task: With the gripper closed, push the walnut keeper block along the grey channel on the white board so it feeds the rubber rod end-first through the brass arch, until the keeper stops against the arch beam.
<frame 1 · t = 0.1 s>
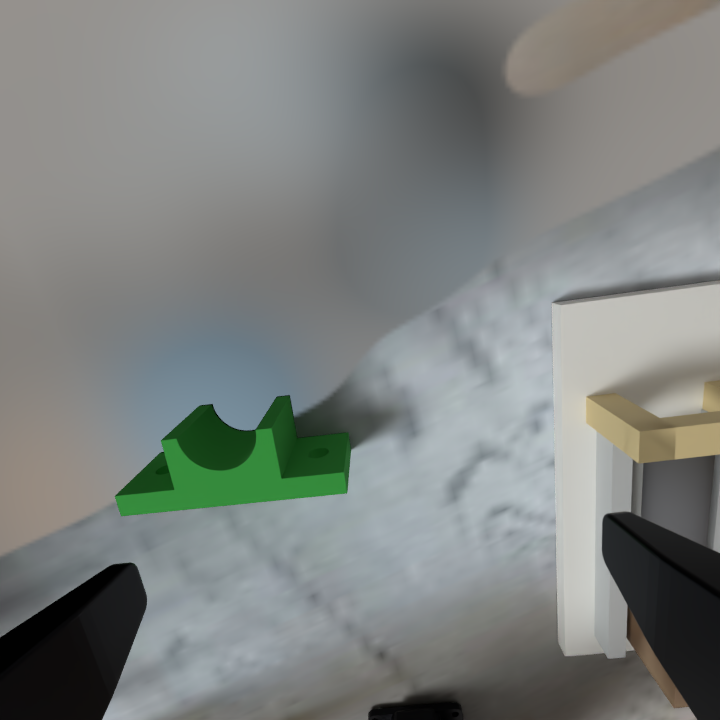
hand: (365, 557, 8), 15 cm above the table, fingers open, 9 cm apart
rod: (654, 488, 22), point 1 cm above the table, touching channel board
pipe clamp: (254, 430, 23), on the table
keeper: (678, 626, 22), point 3 cm above the table, slide at 0.0 cm
channel board: (642, 482, 23), on the table
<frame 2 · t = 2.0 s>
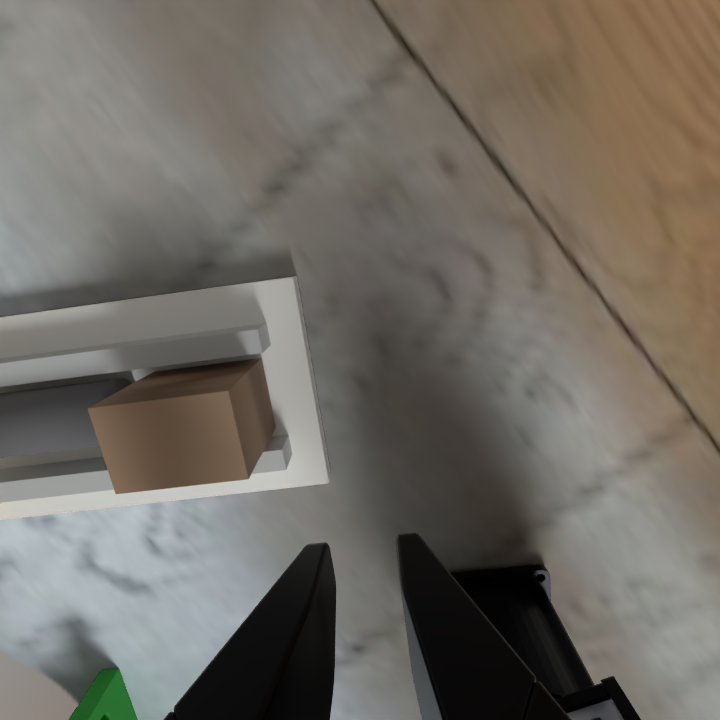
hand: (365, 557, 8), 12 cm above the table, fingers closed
rod: (71, 417, 19), point 1 cm above the table, tilted 19°, touching channel board
keeper: (195, 419, 16), point 3 cm above the table, slide at 0.0 cm
channel board: (91, 408, 20), on the table
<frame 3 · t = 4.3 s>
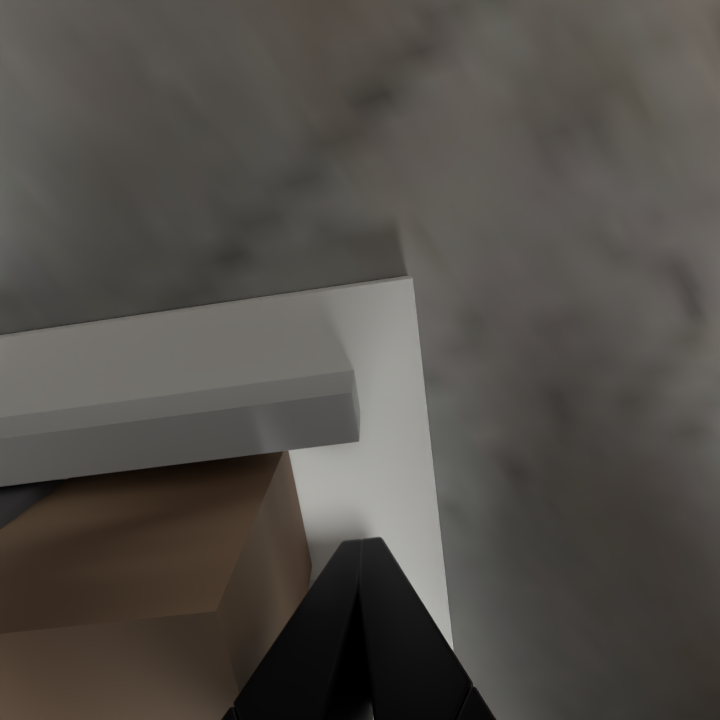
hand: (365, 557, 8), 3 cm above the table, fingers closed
keeper: (151, 594, 8), point 3 cm above the table, slide at 1.3 cm, touching gripper, rod
channel board: (24, 516, 11), on the table
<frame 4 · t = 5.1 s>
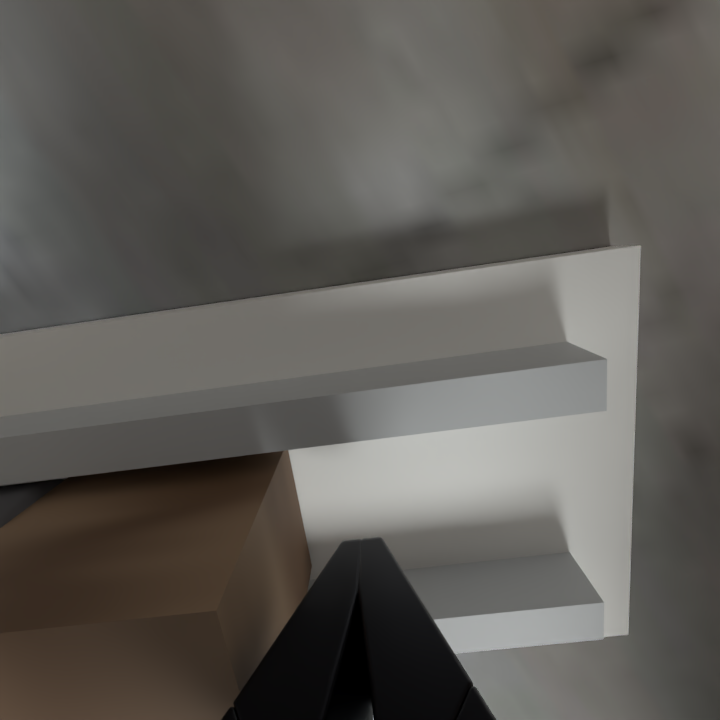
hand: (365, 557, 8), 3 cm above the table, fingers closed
keeper: (151, 594, 8), point 3 cm above the table, slide at 5.9 cm, touching gripper, rod
channel board: (185, 496, 11), on the table
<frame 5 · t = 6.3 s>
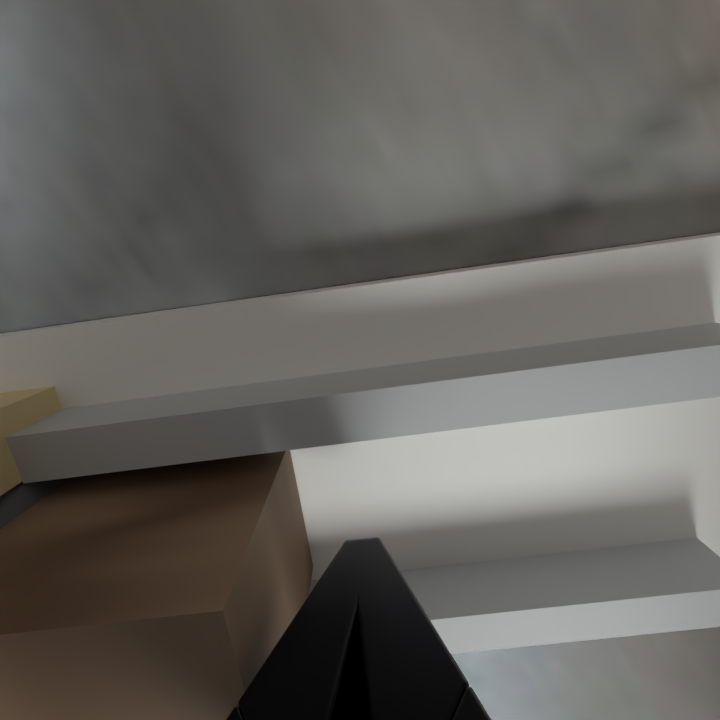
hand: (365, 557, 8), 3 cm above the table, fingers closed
keeper: (153, 595, 8), point 3 cm above the table, slide at 9.0 cm, touching channel board, gripper
channel board: (298, 483, 11), on the table
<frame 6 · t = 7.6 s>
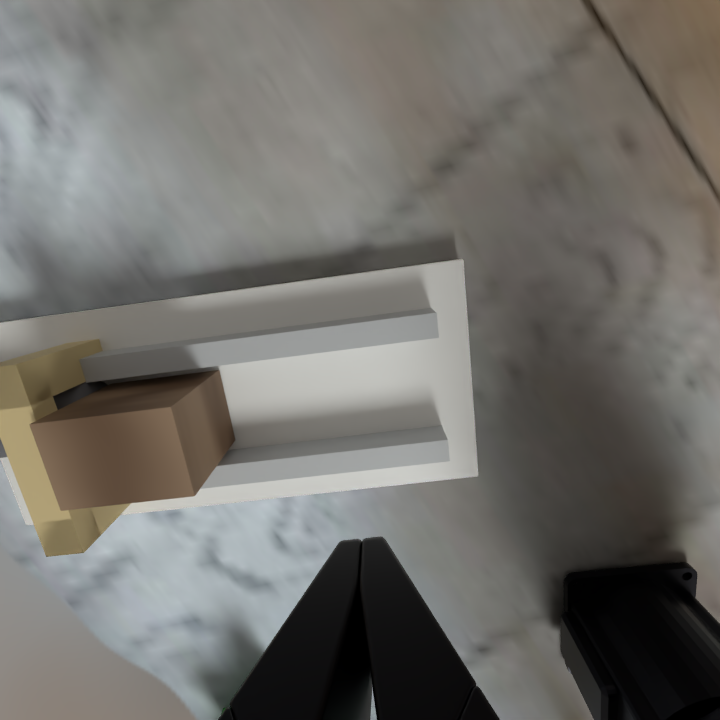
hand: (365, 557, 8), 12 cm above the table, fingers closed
rod: (46, 428, 19), point 1 cm above the table, tilted 34°, touching channel board
keeper: (148, 433, 16), point 3 cm above the table, slide at 9.0 cm, touching channel board
channel board: (230, 398, 19), on the table
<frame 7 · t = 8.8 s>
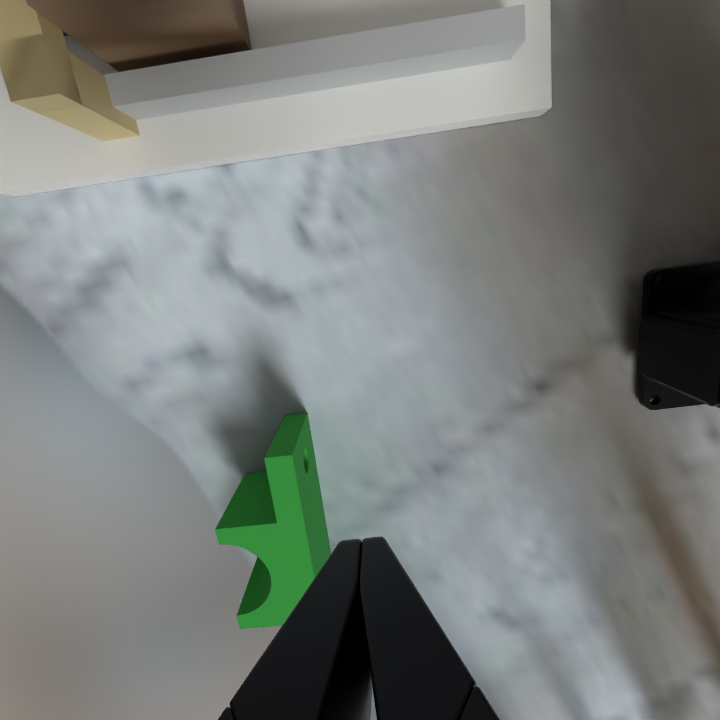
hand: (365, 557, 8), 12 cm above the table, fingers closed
pipe clamp: (292, 508, 22), on the table
channel board: (245, 18, 16), on the table
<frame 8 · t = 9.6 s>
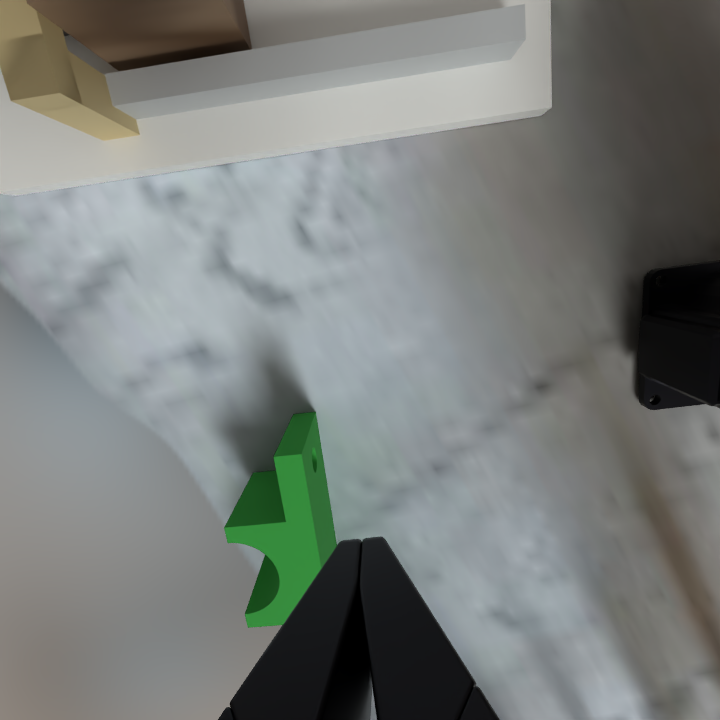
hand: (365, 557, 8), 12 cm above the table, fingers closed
pipe clamp: (299, 507, 22), on the table
channel board: (245, 17, 16), on the table
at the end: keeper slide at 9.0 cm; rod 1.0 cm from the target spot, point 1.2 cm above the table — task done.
